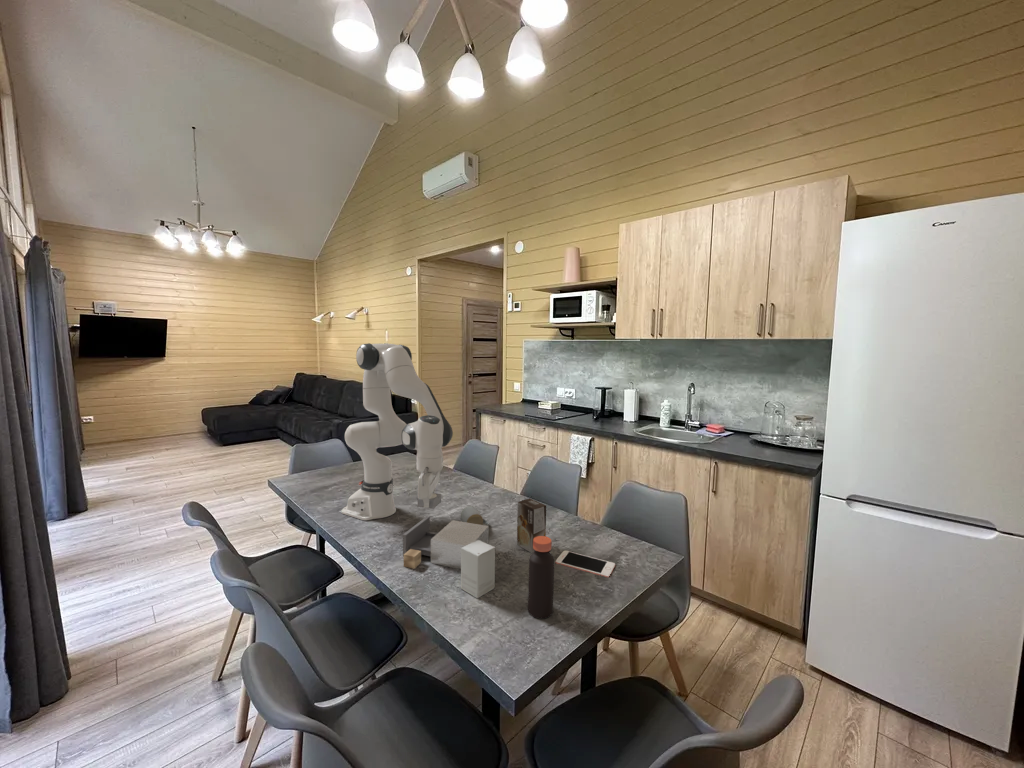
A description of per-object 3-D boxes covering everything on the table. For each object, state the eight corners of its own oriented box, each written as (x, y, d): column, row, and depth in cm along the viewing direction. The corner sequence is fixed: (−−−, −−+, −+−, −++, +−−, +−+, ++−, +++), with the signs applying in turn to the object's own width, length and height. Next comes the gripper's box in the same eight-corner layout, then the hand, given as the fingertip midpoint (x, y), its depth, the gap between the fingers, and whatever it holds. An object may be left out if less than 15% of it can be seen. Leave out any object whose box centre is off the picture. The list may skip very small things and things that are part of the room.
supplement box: (495, 588, 122) (496, 547, 121) (477, 599, 116) (477, 556, 115) (478, 578, 127) (478, 538, 126) (459, 588, 121) (460, 547, 120)
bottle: (538, 622, 107) (540, 548, 105) (522, 609, 112) (524, 538, 110) (558, 613, 111) (560, 541, 109) (541, 600, 116) (543, 532, 114)
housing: (430, 562, 135) (430, 539, 134) (452, 541, 150) (452, 520, 150) (470, 570, 131) (470, 546, 130) (488, 547, 146) (488, 526, 145)
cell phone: (608, 579, 129) (608, 576, 129) (554, 564, 137) (554, 561, 137) (615, 565, 136) (615, 563, 136) (564, 552, 145) (564, 549, 145)
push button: (417, 506, 141) (417, 497, 140) (425, 500, 146) (425, 491, 146) (433, 508, 139) (433, 499, 139) (441, 502, 145) (441, 493, 145)
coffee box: (546, 549, 146) (547, 505, 145) (533, 554, 142) (534, 509, 140) (528, 539, 153) (529, 497, 152) (515, 544, 149) (516, 501, 147)
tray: (400, 555, 139) (400, 534, 138) (424, 535, 154) (424, 515, 153) (440, 563, 134) (440, 541, 133) (461, 542, 149) (461, 521, 149)
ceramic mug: (466, 534, 156) (466, 514, 156) (459, 525, 164) (460, 506, 163) (492, 530, 161) (492, 510, 160) (484, 521, 168) (485, 503, 168)
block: (403, 566, 133) (403, 554, 132) (410, 560, 136) (410, 548, 136) (414, 568, 131) (414, 556, 131) (421, 562, 135) (421, 550, 135)
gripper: (432, 473, 131) (432, 515, 132) (443, 456, 151) (443, 492, 153) (412, 472, 131) (412, 514, 132) (426, 455, 151) (426, 492, 153)
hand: (429, 502), depth 143 cm, fingers closed on push button, 7 cm apart
